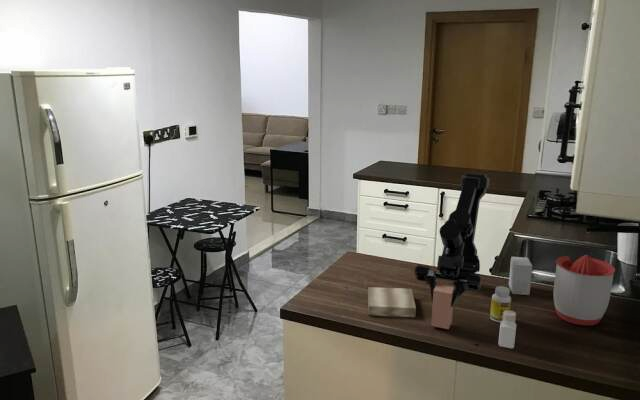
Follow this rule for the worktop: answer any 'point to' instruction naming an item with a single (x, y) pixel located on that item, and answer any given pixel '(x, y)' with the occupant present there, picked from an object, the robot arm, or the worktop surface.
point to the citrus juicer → (582, 289)
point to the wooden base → (391, 302)
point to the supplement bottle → (500, 303)
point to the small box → (520, 275)
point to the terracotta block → (442, 306)
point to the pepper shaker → (507, 329)
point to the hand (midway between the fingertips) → (442, 304)
